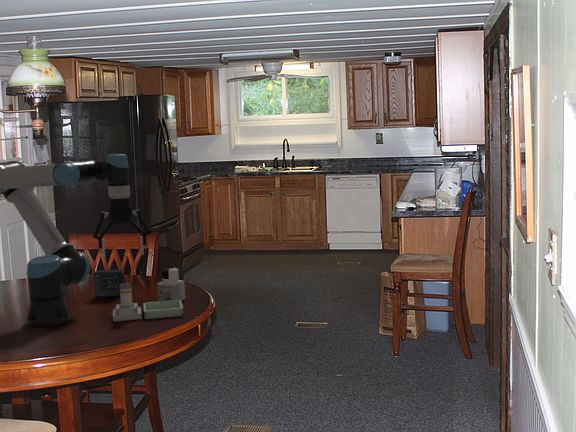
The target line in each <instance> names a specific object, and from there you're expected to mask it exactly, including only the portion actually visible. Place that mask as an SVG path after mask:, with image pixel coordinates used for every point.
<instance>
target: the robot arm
mask: <svg viewBox="0 0 576 432" xmlns="http://www.w3.org/2000/svg"><path fill="white" fill-rule="evenodd" d="M129 168H130V167H129V160H128V156H127V154H124V153H112V154H111V153H110V154H107V155H106V156H105V159H102V160H101V159H96V160H95V159H85V160H81V161H73V162H62V163H52V164H51V163H50V164H39V165H38V164H37V165H28V164H27V163H25V162H23V161H19V160H18V161H17V160H10V161H6V162H0V195H2V196H3V198H4V199H5V200H6V201H7V203H12V204H13V206H14V207H15V209H16V210H17V211H18V213H19V214H20V216H21V218H22V219H23V221H24V222H25V224H26V226H27V227H28V228H29V230H30V232H31V234H32V235H33V237H34V238H35V240H36V241H37V243H38V245H39V246H40V248H41V250H42V252H43V253H44V254H45V255H42V256H37V257H34V258H32V259H31V260H29V261H28V262H27V264H26V276H27V277H26V278H27V284H28V285H27V286H28V288H27V289H28V295H29V296H28V297H29V304H28V309H27V312H26V317H25V323H26V325H27V326H28V327H32V328H48V327H54V326H58V325H59V326H60V325H63V324H65V323H68V322H69V321H70V320H71V314H70V311H69V309H68V306H67V305H66V302H65V298H64V290H63V289H65V288H68V287H70V286H74V285H79V284H80V283H81V282H84V281H85V280H86V279H87V278H88V277H89V275H90V270H91V262H90V259H89V257H88V256H87V254H85V253H84V252H82V251H80V250H78V251H77V250H76V248H75V247H74V245H73V244H72V243H69V242H66V240H65V239H64V237H63V235H62V234H61V232H60V231H59V229H58V227H56V225H55V223H54V222H53V220H52V219H51V217H50V215H49V214H48V212H47V210H46V209H45V207H44V206H43V204H42V202H41V201H40V199H39V197H38V196H37V195H36V193H35V191H34V190H35V188H37V187H38V188H39V187H51V186H72V185H78V184H84V183H90V182H92V183H93V182H107V189H108V190H107V191H108V197H109V199H108V205H109V206H108V207H109V211H101V213H100V219H99V221H98V223H97V225H96V228H95V230H94V232H93V235H92V238H93V239H95V240H98V241H97V242H98V248H99V249H100V250H102V258H103V259H106V249H105V247H106V244H105V238H104V237H105V235H106V234H107V232H109V230H110V228H112V226H113V225H114V224H117V225H118V224H119V225H120V224H126V223H129V224H130V226H132V227H133V228H134V229H135V230H136V231H137V232H138V233H139V234H140V235H141V236H140V237H139V238H140V250H141V251H140V252H141V256H144V255H145V254H144V246H146V245H147V238H146V237H147V236H149V235H151V230H150V228H149V226H148V225H147V223H146V222H145V220H144V218H143V217H142V215H141V211H140V209H135V210H132V204H131V197H130V196H131V188H130V177H129V176H130V175H129V172H130V171H129ZM133 215H134V216H135V217H137V218H138V220H139V222H140V224H141V225H142V227H143V229H144V230H145V231H144V230H143V229H142V228H141V227H140V226H139V225H137V223H136V222H135V221H134V220H133V219H132V218H131V217H132V216H133ZM107 217H109V218H110V221H109V222H108V223H107V225H106V226H105V228H104V229H103V230H102V231H101V232H100V230H101V228H102V225H103V223H104V220H105V219H106V218H107ZM99 232H100V234H99ZM98 234H99V235H98Z"/></svg>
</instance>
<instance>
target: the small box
mask: <svg viewBox="0 0 576 432" xmlns="http://www.w3.org/2000/svg"><path fill="white" fill-rule="evenodd" d="M93 277H94V278H93V279H94V292H95V298H98V299H99V298H101V299H102V298H120V287H119V285H120V284H124V283H125V282H124V271H123V269H102V270H101V269H100V270H97V271H95V272H93Z"/></svg>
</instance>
